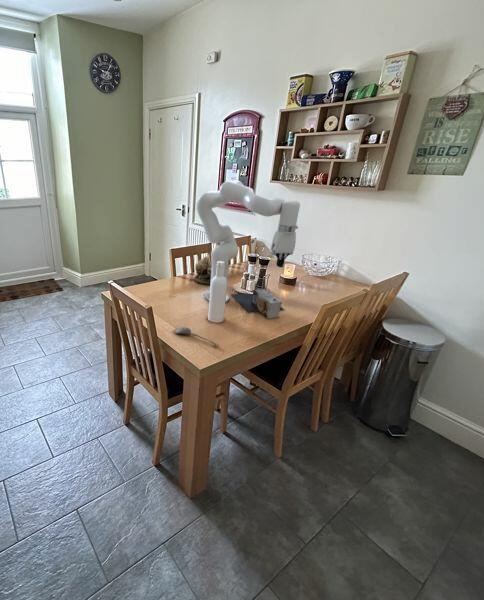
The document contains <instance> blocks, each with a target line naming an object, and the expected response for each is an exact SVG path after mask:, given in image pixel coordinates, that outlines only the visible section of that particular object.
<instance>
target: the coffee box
mask: <svg viewBox="0 0 484 600" xmlns="http://www.w3.org/2000/svg"><path fill="white" fill-rule="evenodd" d="M252 293H253V296H252V301H251V305H253V306H254V307H255V308H256V309H257V310H259V313H261V314H262V315H263V316H264V317H266V318H267V319H274V318H279V314H280V311H281V310H280V307H282V301H281V300H279V299H278V298H277V297H275V296H274V295H273V294H271V293H270V292H268V290H266V289H264V288H259V289H258V288H257V289H253V291H252Z"/></svg>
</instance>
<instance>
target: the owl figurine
mask: <svg viewBox="0 0 484 600" xmlns="http://www.w3.org/2000/svg"><path fill="white" fill-rule="evenodd" d="M211 268H212V262H211V260H210V258H209V257H208V256H207V255H206V256H204V257H203V258H200V259H199V260H198V261H197V263H196V264H195V268H194V269H195V273H196V274H197V275H195V276H194V277H193V281H194V282H195V283H198V284H200V285H204V286H210V282H211Z"/></svg>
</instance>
